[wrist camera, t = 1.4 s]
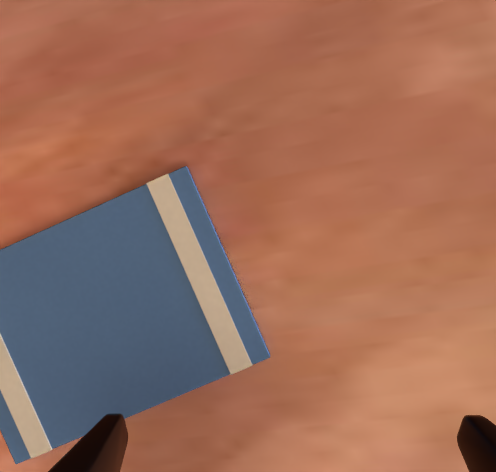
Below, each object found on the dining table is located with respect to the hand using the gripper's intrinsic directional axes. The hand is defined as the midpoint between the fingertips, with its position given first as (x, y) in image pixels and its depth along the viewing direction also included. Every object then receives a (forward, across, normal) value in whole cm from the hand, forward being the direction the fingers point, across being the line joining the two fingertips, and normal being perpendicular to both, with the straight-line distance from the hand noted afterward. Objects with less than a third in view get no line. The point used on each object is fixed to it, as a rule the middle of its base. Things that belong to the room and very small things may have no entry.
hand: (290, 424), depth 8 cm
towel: (+14, +13, +7) cm, 21 cm away
